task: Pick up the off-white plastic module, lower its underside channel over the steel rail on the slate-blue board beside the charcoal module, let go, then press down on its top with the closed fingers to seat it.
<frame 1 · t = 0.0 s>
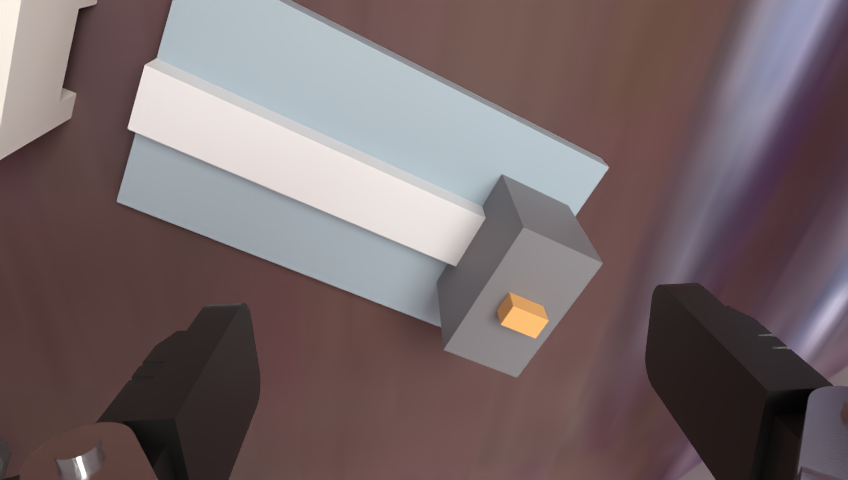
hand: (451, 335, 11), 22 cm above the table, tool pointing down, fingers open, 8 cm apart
din module: (40, 30, 29), on the table
rail board: (364, 174, 34), on the table
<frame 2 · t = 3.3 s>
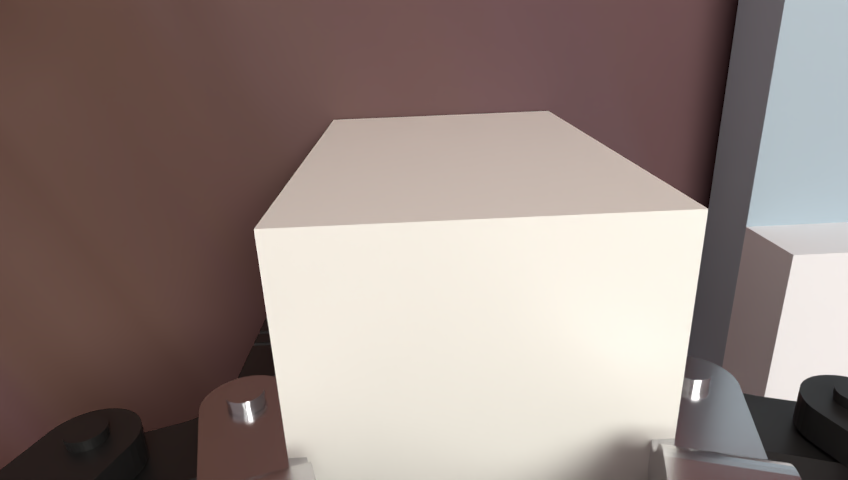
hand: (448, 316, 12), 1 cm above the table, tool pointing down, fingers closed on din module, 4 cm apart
din module: (445, 288, 13), on the table, touching gripper
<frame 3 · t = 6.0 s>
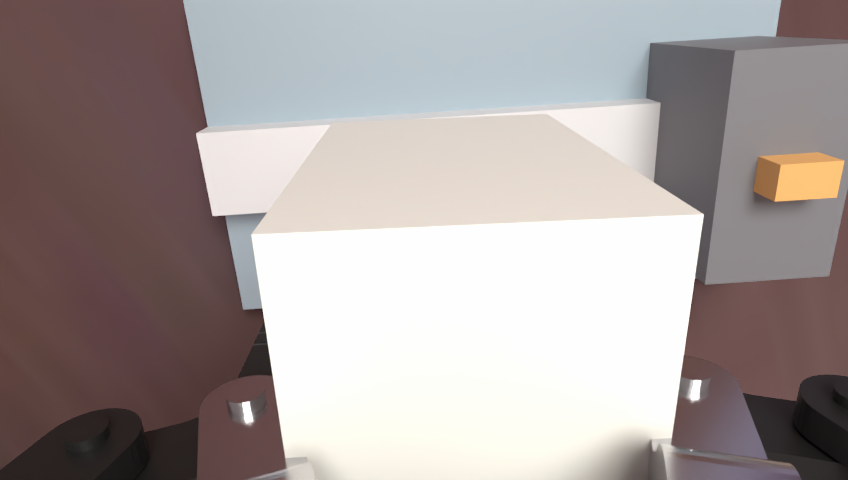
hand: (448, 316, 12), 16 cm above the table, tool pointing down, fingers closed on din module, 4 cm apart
din module: (444, 290, 13), point 14 cm above the table, touching gripper
rail board: (485, 142, 27), on the table
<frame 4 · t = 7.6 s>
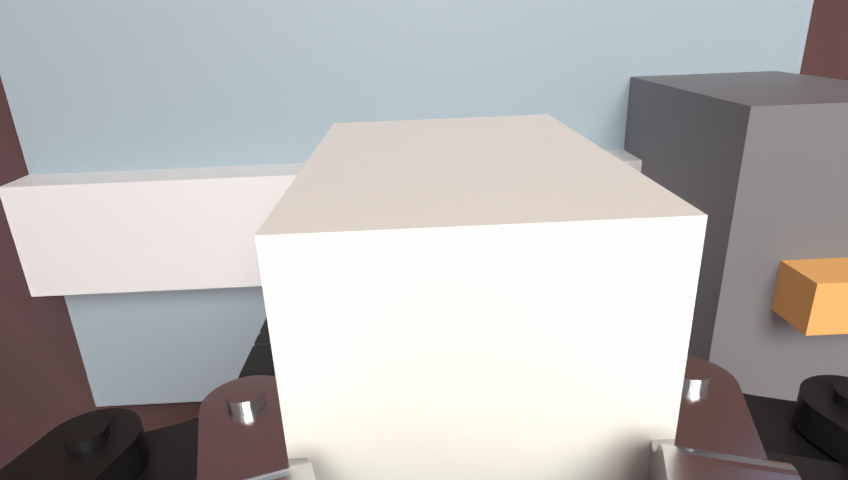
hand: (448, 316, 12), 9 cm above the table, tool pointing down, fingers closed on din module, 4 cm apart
din module: (445, 290, 13), point 7 cm above the table, touching gripper
rail board: (413, 197, 20), on the table
when the fingers open (4 cm above the table, at t = 8.9 s): din module stays where it is, resting on rail board.
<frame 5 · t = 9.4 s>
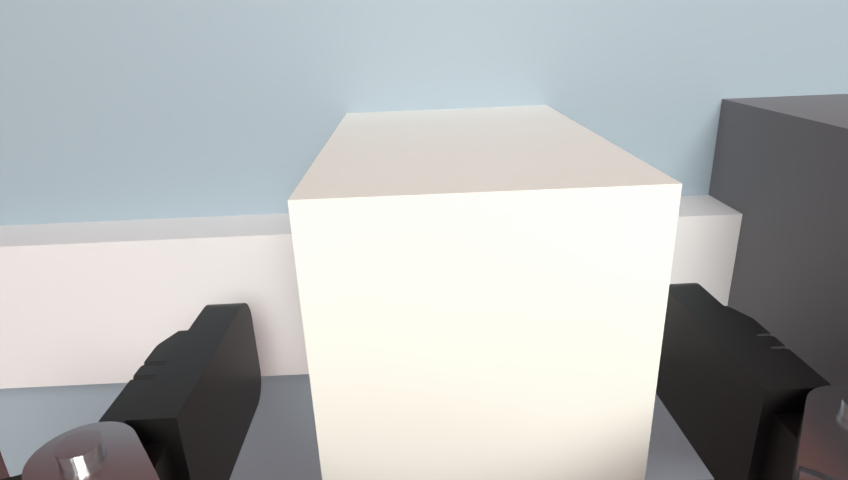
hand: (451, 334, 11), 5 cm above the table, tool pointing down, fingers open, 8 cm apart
din module: (450, 272, 14), point 1 cm above the table, touching rail board
rail board: (427, 251, 16), on the table
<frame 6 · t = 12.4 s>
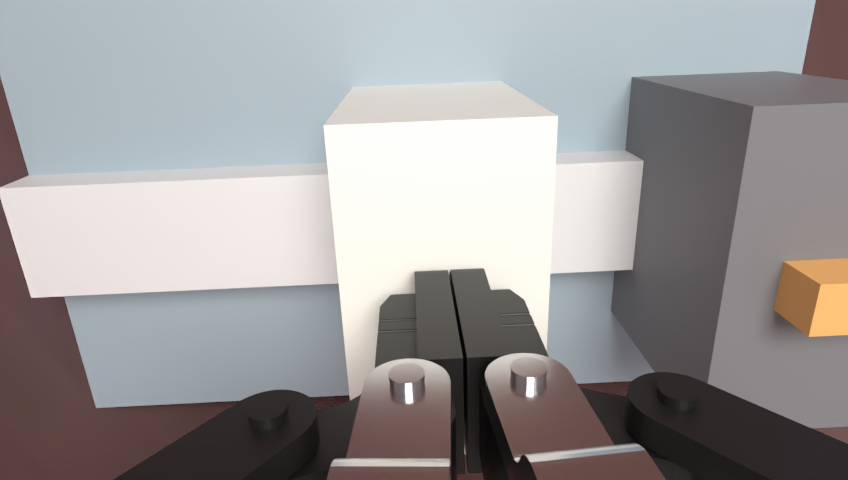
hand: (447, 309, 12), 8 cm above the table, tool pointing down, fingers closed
din module: (431, 210, 19), point 1 cm above the table, touching gripper, rail board
rail board: (414, 198, 20), on the table
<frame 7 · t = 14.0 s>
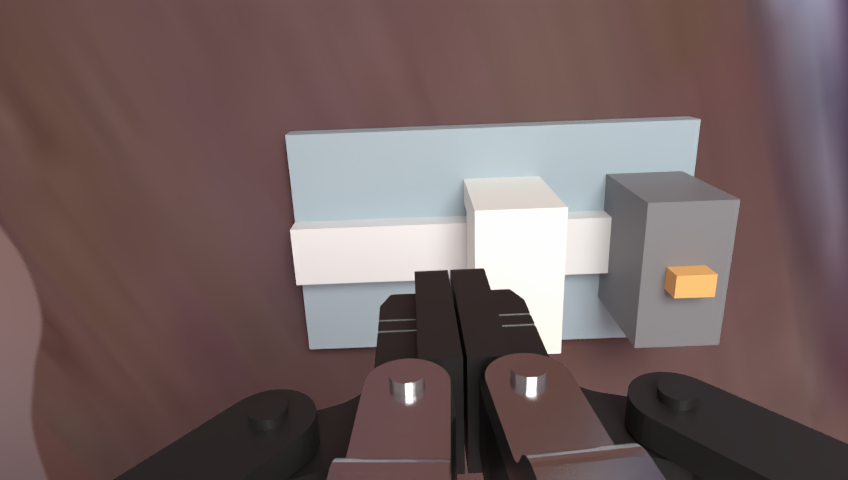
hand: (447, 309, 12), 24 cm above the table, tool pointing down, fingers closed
din module: (500, 241, 35), point 1 cm above the table, touching rail board
rail board: (489, 234, 37), on the table
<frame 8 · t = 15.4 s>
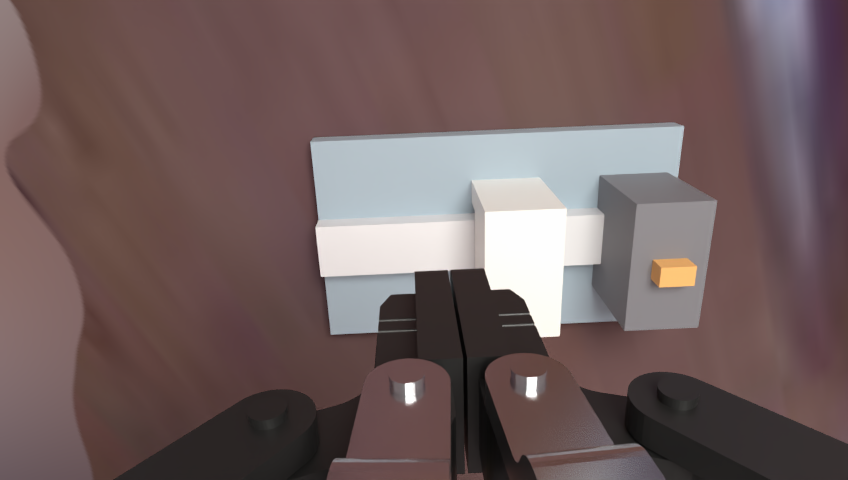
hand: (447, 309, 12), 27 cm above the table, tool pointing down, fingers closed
din module: (504, 235, 39), point 1 cm above the table, touching rail board
rail board: (494, 229, 41), on the table
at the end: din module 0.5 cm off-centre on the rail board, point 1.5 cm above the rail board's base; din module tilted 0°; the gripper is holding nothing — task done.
